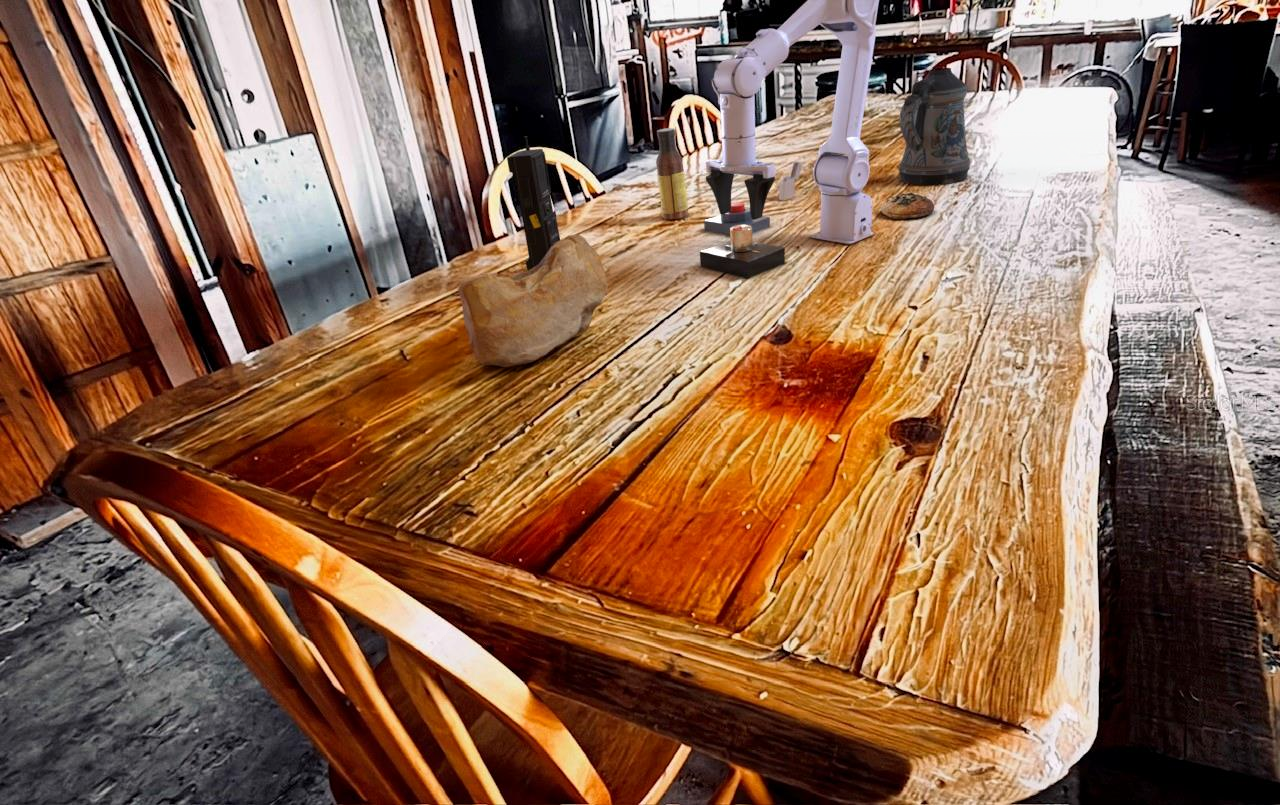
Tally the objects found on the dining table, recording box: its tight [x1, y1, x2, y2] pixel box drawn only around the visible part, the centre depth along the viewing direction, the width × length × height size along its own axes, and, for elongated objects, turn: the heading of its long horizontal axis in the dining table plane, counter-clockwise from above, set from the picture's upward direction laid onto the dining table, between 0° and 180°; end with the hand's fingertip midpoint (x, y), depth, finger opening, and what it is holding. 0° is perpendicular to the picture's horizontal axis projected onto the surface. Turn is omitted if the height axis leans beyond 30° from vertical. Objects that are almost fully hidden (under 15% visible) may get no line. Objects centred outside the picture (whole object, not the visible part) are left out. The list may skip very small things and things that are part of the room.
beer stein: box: [898, 67, 971, 186], centre depth 170 cm, size 16×19×25 cm
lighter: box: [778, 161, 803, 202], centre depth 172 cm, size 7×2×8 cm, turn 130°
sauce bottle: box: [655, 127, 689, 221], centre depth 163 cm, size 7×6×20 cm
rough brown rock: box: [457, 234, 609, 368], centre depth 105 cm, size 23×17×15 cm
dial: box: [729, 225, 754, 252], centre depth 129 cm, size 4×4×4 cm
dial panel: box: [699, 240, 786, 279], centre depth 130 cm, size 12×10×3 cm
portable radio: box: [506, 135, 561, 271], centre depth 134 cm, size 8×6×25 cm
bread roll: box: [880, 192, 935, 220], centre depth 150 cm, size 11×11×5 cm
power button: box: [729, 201, 746, 213], centre depth 151 cm, size 4×4×2 cm
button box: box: [703, 206, 771, 236], centre depth 152 cm, size 11×9×4 cm
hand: (740, 215), depth 127 cm, fingers open, 7 cm apart
